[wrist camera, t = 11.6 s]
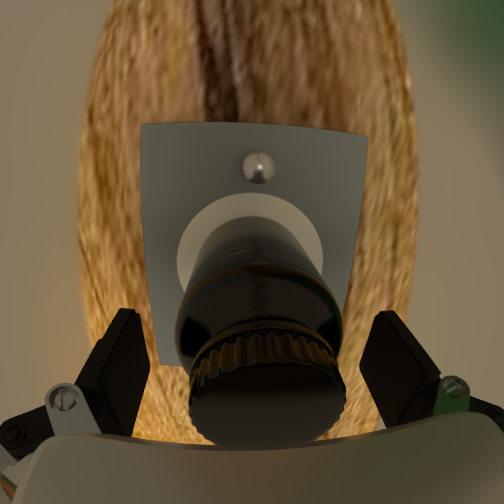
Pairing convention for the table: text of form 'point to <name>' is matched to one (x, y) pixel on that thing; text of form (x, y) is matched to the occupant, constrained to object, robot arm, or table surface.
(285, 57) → the table surface
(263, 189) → the board
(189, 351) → the supplement bottle
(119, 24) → the table surface
